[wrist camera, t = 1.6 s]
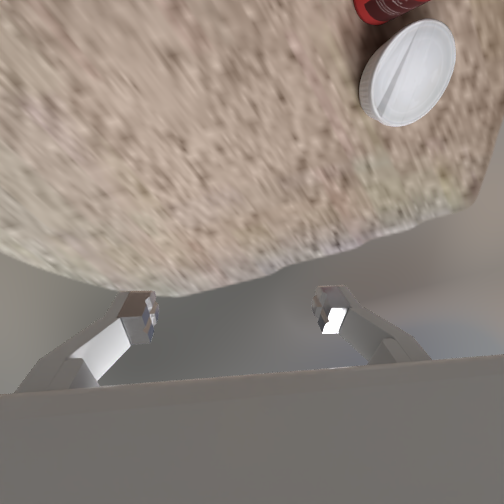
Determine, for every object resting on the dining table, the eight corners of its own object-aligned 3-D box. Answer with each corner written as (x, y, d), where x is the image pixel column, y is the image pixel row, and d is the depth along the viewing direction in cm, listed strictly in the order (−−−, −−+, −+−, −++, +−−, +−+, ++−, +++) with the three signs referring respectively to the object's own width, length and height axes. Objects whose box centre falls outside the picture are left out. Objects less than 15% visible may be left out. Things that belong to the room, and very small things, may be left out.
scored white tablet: (347, 52, 30) (368, 43, 26) (427, 13, 29) (464, -3, 25) (355, 136, 36) (373, 140, 32) (421, 106, 35) (450, 106, 31)
